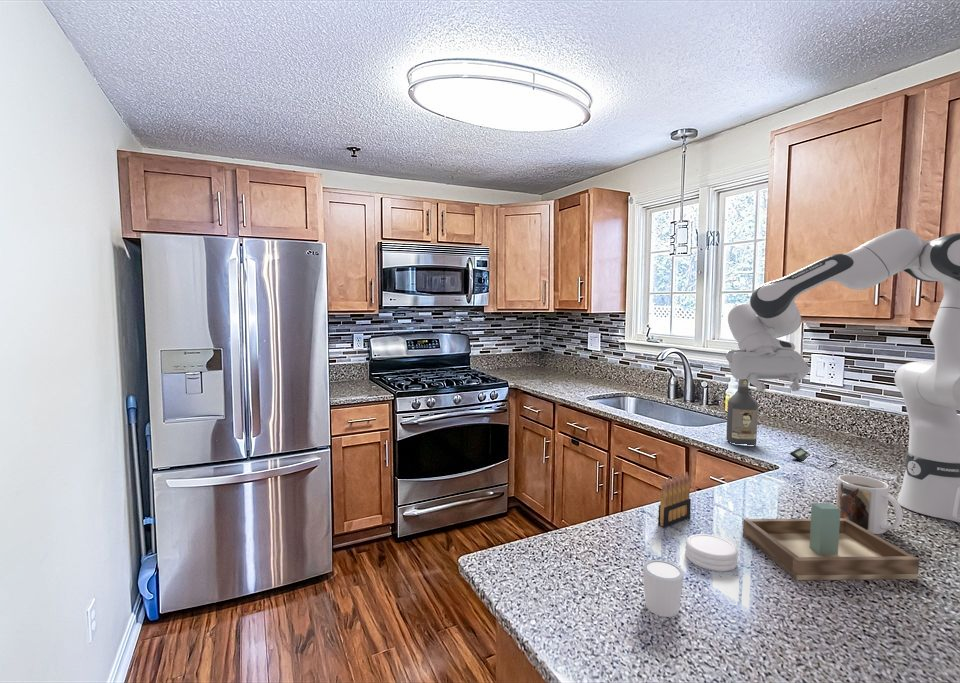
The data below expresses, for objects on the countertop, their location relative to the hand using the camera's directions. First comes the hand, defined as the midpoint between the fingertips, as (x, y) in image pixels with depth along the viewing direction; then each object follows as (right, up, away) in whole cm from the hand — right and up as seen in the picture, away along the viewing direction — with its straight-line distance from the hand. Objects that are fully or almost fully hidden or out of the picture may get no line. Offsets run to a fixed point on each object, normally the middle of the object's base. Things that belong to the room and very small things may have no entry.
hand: (779, 390), depth 129 cm
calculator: (+36, -29, +39) cm, 61 cm away
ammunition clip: (-32, -32, -9) cm, 46 cm away
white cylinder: (-48, -35, -43) cm, 73 cm away
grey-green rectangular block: (-6, -32, -25) cm, 41 cm away
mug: (+13, -33, -12) cm, 37 cm away
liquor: (+23, -27, +60) cm, 70 cm away
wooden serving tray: (-6, -33, -25) cm, 42 cm away
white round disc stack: (-31, -34, -27) cm, 53 cm away
